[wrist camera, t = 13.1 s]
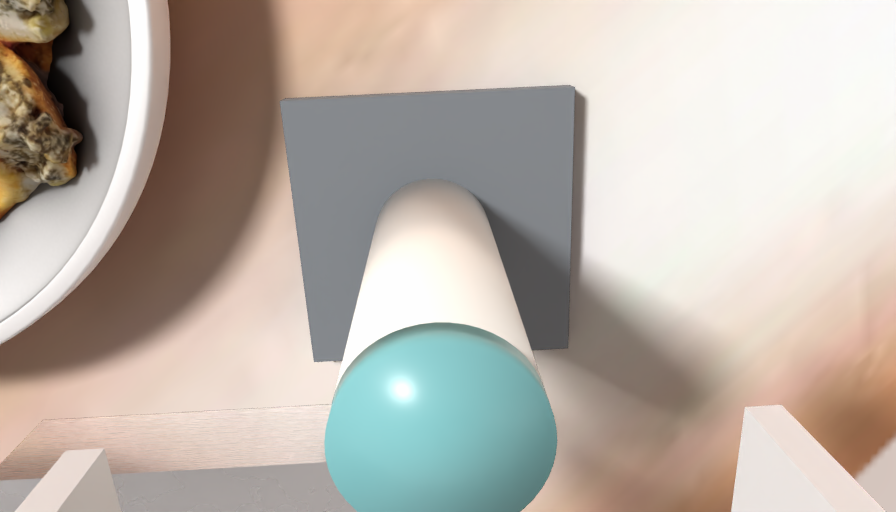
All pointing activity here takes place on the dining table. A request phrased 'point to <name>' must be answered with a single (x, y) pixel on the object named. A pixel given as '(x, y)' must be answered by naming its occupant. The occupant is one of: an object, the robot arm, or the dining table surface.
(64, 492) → the robot arm
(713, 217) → the dining table surface
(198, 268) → the dining table surface
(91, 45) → the bowl
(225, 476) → the housing
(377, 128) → the pad
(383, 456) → the plug
